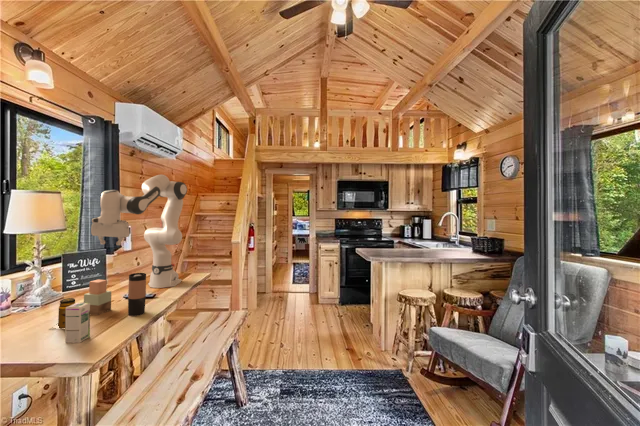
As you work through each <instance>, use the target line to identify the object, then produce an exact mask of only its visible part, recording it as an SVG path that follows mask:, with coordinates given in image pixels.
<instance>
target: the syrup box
mask: <svg viewBox="0 0 640 426" xmlns="http://www.w3.org/2000/svg"><path fill="white" fill-rule="evenodd" d="M90 323H91V315H90V303H84V301H83V302H75V304H73V305H71V306H69V307H66V323H65V329H64V330H65V332H64V333H65V337H64V338H65V343H66V344H80V343H82V342H83V341H85V340H86V339H88V338H91V337H90V336H91V334H90V333H91V330H90V327H91V324H90Z"/></svg>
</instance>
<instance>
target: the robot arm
mask: <svg viewBox="0 0 640 426" xmlns="http://www.w3.org/2000/svg"><path fill="white" fill-rule="evenodd" d="M187 187H188V186H187V185H186V183H185V182H182V181H173V180H171V181H170V178H169V177H168V176H167V175H165V174H162V173H161V174H157V175H154V176H152V177H150V178H147V179H146V180H144V181H143V182H142V184H141V190H142V194H143V195H141V196H130V195H129V196H127V195H124V194H122V193H120V192H119V190H117V189H110V190H109V189H108V190H107V189H106V190H104V191H102V193H101V194H100V195H101V196H100V209H101V211H100V216H98V217H94V218H92V219H91V222H92V224H91V227H90V228H91V229H90V230H91V231H90V232H91V235H92V237H94V236H95V237H97V238H98V241H100V242H99V243H100V245H105V244H106V240H104V237H107V238H108V237H110V238H117V240H118V241H116V242H115V243H116V246H121V245H122V241H124V238H129V237H130V235H131V234H130V227H129V222H128V221H126V220H125V219H124V220H121V213H123V214H124V213H125V214H134V215H141V214H144V212H145V211H146V210H147V209H148V207H149V206H150V205H151V204H152V203H153V202H154V201H156V199H158V198H159V197H161V198H167V201H166V203H165V205H164V208H163V210H162V213H161V216H160V220H161V222H162V223H163V224H164V225H163V226H164V227H150V228H149V227H148V228H147V229H146V230H145V231H144V233H143V239H144V241H145V242H146V243H148V245H149V247H150V249H151V251H152V265H151V270H152V271H151V272H150V277H149V282H148V283H147V285H148V286H149V287H150V288H152V289H153V288H154V289H157V288H158V289H160V288H161V289H163V288H170V287H171V288H172V287H176V286H177V285H178V284H180V283H181V281H182V282H183V279H181V278H179V273H178V272H177V271H176V270H174V269H173V268H174V267H175V266H176V264H175V263H172V255H173V254H172V252H171V250H169V249H168V248H167V246H166V245H168V246H172V245H178V244H180V243H181V241H182V239H183V234H182V231H181V230H180V229H179V226H178V225H179V220H180V217H181V214H182V211H183V206H184V200H183V199H185V196H186V195H187V192H188V188H187Z"/></svg>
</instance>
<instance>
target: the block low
mask: <svg viewBox="0 0 640 426" xmlns="http://www.w3.org/2000/svg"><path fill="white" fill-rule="evenodd" d="M111 310H112V300H111V301H109V302H106V303H104V304H101V305H99V306H98V305H90V316H91V315H92V316H100V315H102V314H104V313H107V312H110V311H111Z"/></svg>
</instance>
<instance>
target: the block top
mask: <svg viewBox="0 0 640 426" xmlns="http://www.w3.org/2000/svg"><path fill="white" fill-rule="evenodd" d="M109 301H111V302H112V290H106V292H104V293H101V294H89V292H87V293H84V294H83V302H84V303H90V305H98V306H99V305H101V304H104V303H106V302H109Z"/></svg>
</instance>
